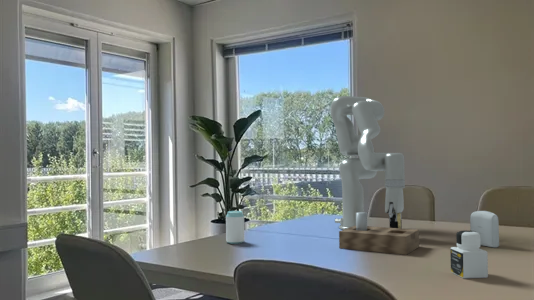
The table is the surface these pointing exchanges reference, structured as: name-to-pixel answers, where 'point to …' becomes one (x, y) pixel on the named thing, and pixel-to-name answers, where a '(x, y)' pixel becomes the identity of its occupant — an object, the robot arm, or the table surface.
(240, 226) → the can
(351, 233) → the bore block
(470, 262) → the medicine bottle
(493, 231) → the photo printer
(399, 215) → the brass pin
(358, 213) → the grey pin
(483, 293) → the table surface
